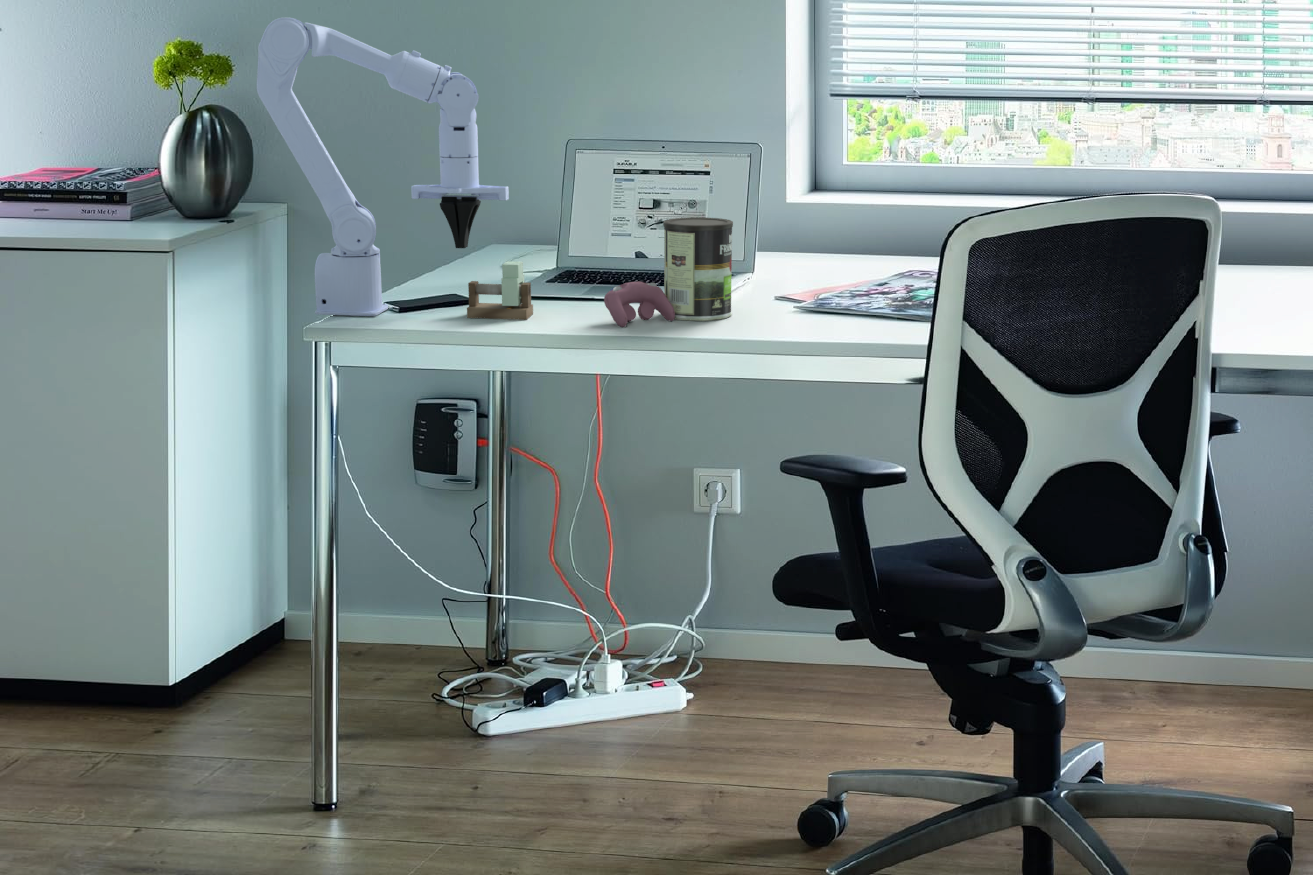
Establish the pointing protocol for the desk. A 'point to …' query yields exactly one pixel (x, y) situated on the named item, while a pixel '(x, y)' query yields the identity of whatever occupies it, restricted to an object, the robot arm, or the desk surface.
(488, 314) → the rod stand
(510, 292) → the mint green stepped block
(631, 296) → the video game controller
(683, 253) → the coffee can
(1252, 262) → the desk surface
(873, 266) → the desk surface
